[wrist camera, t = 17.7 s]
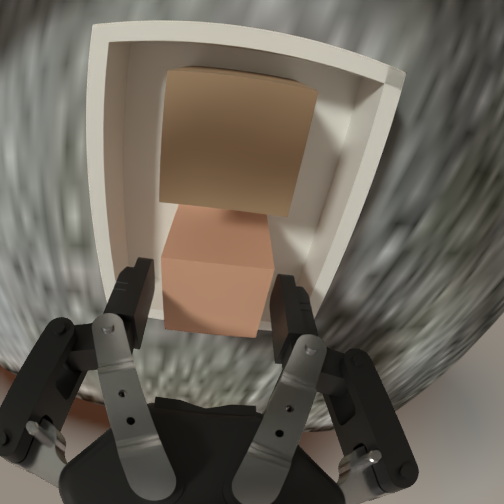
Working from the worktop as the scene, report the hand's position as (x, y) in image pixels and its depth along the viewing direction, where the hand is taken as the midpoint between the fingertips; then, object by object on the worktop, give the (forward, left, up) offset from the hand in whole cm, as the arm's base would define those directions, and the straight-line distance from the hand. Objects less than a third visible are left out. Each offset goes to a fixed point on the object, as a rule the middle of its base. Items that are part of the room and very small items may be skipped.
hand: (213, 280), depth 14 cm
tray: (-3, 0, -4) cm, 5 cm away
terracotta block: (0, 0, -3) cm, 3 cm away
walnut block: (-7, 0, -3) cm, 8 cm away
